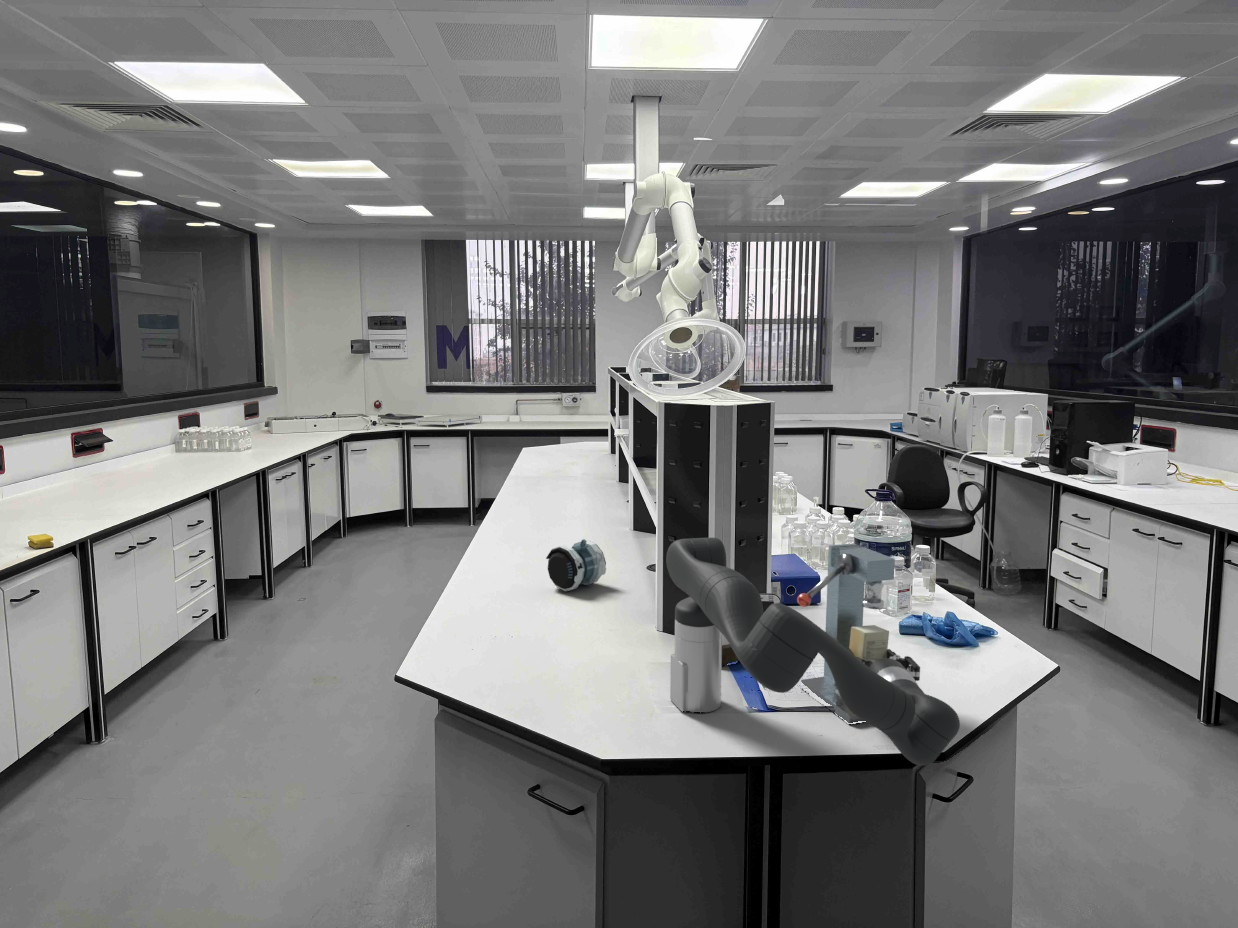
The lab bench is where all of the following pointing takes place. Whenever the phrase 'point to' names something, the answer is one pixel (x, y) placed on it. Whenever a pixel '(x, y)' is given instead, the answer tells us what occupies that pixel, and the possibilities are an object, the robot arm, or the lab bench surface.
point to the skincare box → (869, 642)
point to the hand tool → (728, 655)
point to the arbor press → (847, 606)
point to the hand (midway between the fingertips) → (867, 653)
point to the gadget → (576, 565)
